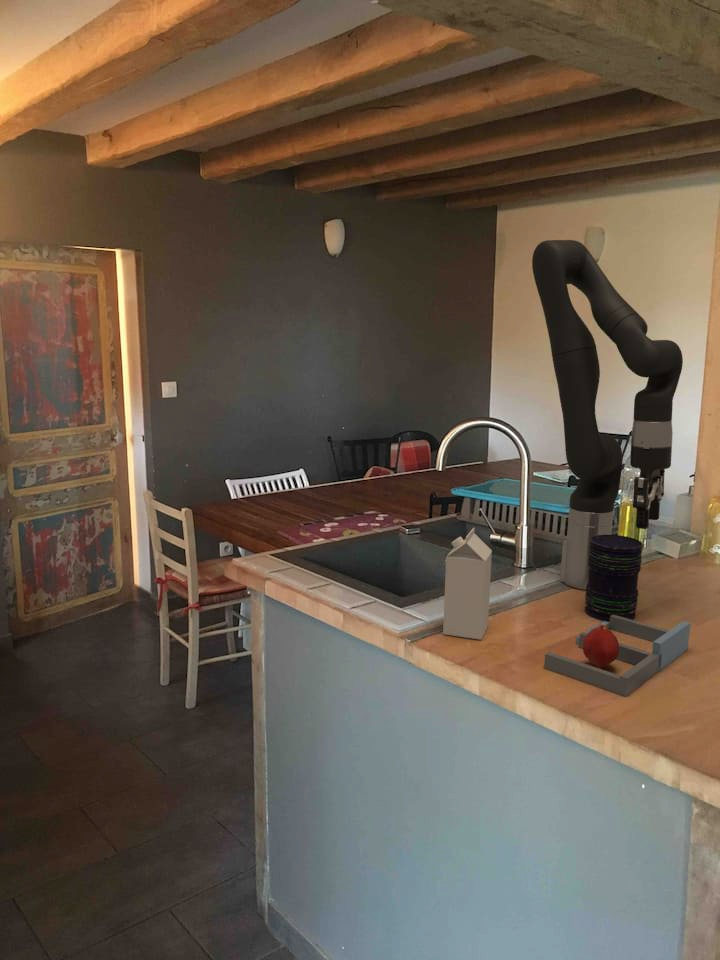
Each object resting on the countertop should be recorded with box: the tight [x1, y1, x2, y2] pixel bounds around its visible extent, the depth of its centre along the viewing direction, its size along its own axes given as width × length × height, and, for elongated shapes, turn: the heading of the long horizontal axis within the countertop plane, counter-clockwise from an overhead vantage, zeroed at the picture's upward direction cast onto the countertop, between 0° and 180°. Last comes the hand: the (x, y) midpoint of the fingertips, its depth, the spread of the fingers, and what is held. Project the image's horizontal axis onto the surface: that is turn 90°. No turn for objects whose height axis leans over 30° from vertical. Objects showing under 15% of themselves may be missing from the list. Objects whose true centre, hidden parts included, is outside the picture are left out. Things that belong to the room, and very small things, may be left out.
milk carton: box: [442, 527, 493, 640], centre depth 141 cm, size 7×7×19 cm
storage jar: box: [584, 534, 643, 623], centre depth 152 cm, size 10×10×15 cm
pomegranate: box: [582, 623, 619, 669], centre depth 128 cm, size 6×6×8 cm
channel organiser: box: [543, 615, 691, 697], centre depth 132 cm, size 15×25×5 cm, turn 137°
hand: (647, 523), depth 154 cm, fingers open, 8 cm apart
